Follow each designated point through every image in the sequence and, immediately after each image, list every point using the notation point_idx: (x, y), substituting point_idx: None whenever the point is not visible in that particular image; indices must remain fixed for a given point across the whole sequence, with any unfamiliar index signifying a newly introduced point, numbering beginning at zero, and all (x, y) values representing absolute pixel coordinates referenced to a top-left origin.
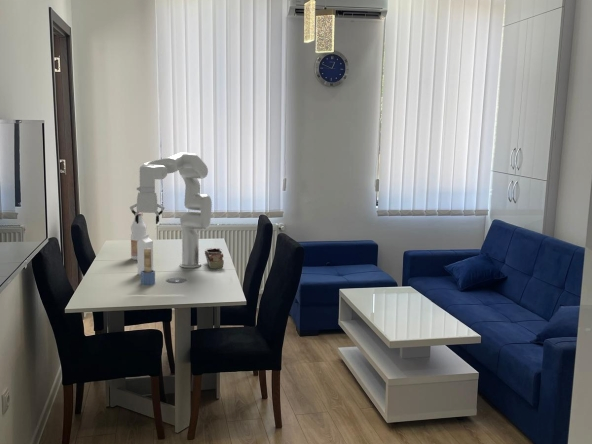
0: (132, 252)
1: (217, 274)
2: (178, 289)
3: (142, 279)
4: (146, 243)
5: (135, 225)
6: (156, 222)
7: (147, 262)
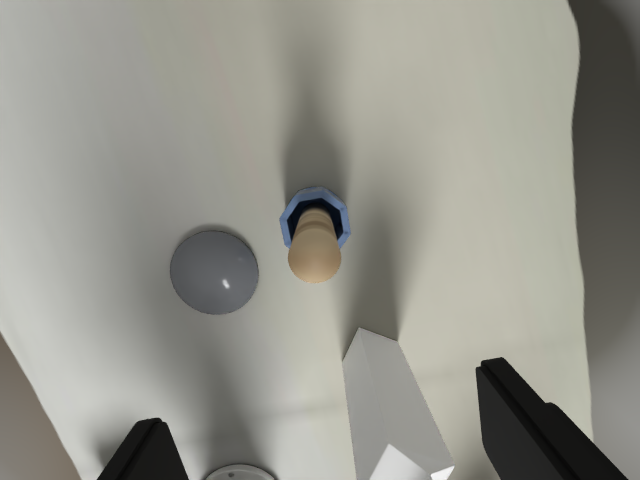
0: None
1: (97, 400)
2: (168, 164)
3: (333, 195)
4: (384, 443)
5: None
6: (140, 434)
7: (310, 217)
